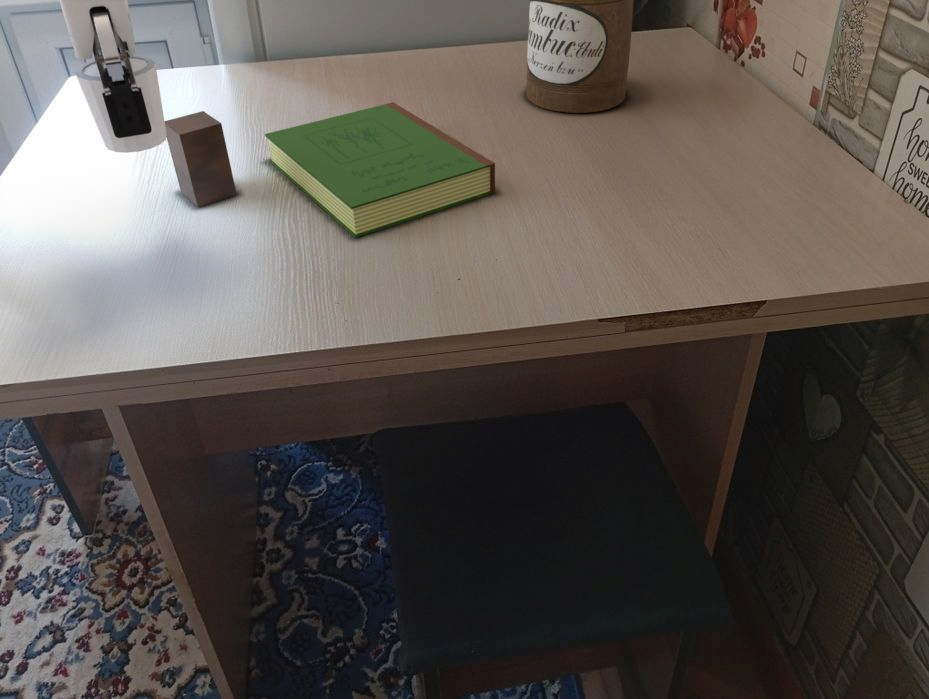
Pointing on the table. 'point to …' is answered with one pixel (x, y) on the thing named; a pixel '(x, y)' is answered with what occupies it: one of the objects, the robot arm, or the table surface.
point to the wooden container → (578, 54)
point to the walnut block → (200, 158)
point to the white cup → (144, 79)
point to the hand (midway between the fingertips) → (129, 118)
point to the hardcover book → (379, 167)
